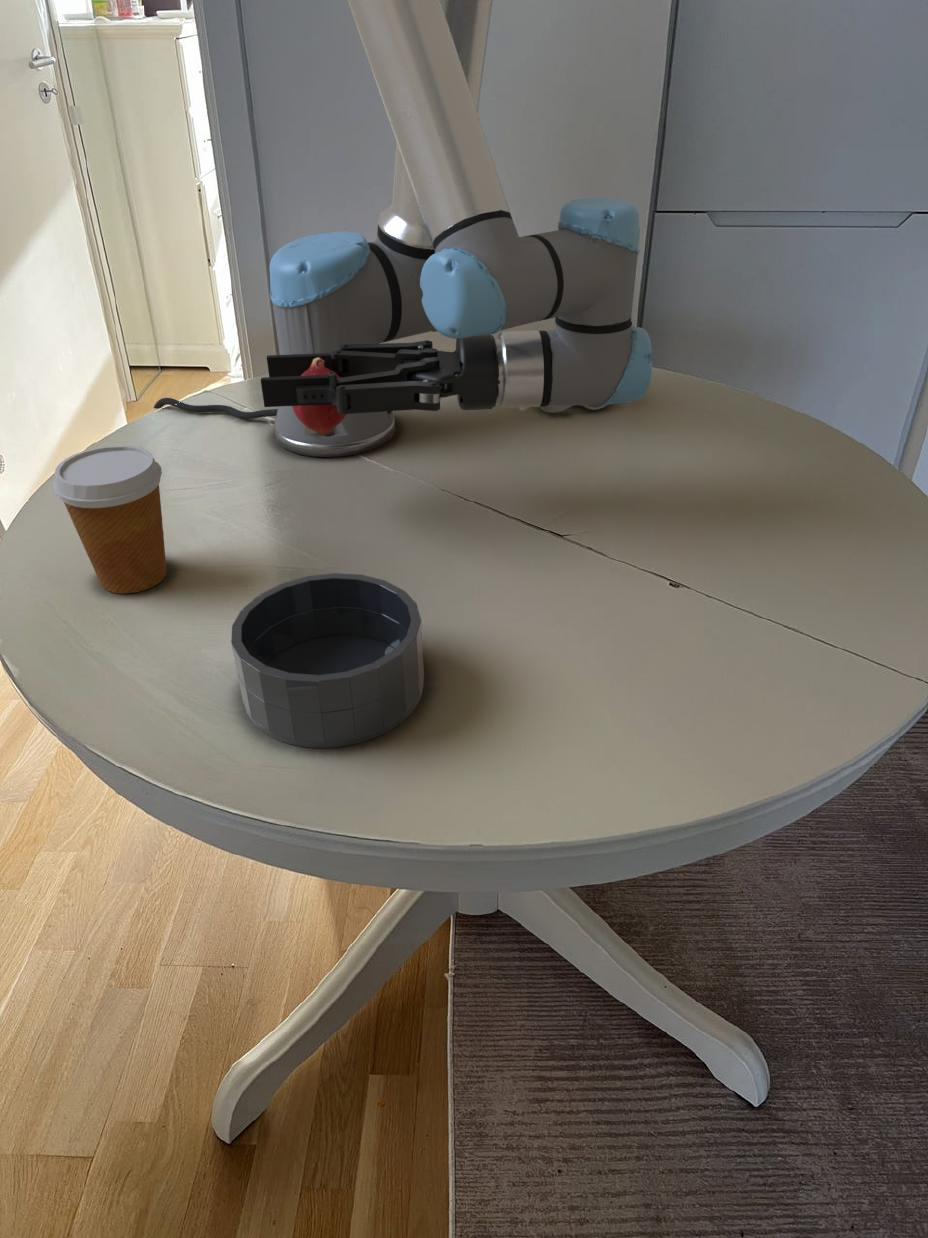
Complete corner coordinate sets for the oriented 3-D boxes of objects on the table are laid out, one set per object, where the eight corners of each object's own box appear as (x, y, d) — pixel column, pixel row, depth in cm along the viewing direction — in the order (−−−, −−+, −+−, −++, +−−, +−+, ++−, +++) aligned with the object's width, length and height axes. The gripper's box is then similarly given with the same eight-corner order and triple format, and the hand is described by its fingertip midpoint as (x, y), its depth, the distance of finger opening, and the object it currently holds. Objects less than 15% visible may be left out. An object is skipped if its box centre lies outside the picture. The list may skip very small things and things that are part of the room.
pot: (208, 691, 75) (193, 626, 72) (344, 616, 84) (337, 555, 80) (322, 776, 67) (312, 708, 63) (460, 683, 76) (458, 618, 72)
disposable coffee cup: (87, 613, 85) (52, 496, 78) (79, 564, 92) (46, 454, 85) (191, 589, 88) (166, 475, 81) (175, 544, 95) (151, 436, 88)
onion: (342, 447, 93) (334, 370, 88) (288, 443, 94) (278, 367, 89) (358, 425, 97) (352, 350, 93) (307, 421, 98) (298, 347, 94)
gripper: (506, 443, 88) (262, 454, 86) (486, 374, 103) (278, 383, 102) (508, 366, 84) (250, 377, 82) (486, 306, 99) (269, 314, 97)
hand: (266, 380), depth 92 cm, fingers closed on onion, 6 cm apart
